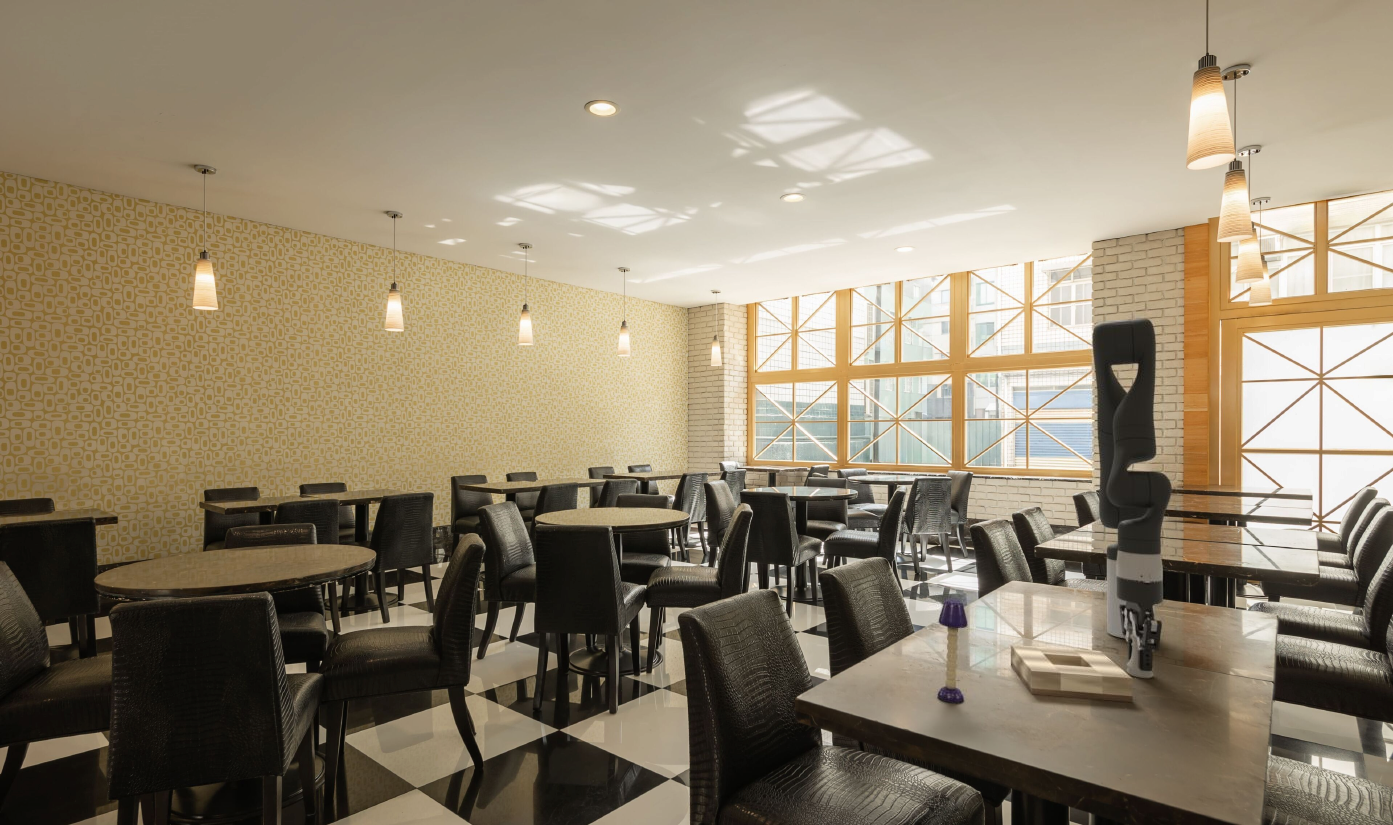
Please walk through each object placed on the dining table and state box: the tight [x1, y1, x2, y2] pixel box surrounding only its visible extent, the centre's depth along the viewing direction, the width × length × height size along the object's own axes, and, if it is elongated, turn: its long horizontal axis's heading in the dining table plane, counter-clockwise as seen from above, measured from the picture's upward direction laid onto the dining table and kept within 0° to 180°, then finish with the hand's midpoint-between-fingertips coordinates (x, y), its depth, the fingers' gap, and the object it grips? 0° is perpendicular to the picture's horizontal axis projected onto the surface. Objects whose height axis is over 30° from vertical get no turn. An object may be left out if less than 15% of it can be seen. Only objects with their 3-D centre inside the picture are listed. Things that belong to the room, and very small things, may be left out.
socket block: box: [1010, 644, 1134, 703], centre depth 130 cm, size 16×16×4 cm
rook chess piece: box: [1126, 631, 1155, 679], centre depth 135 cm, size 4×4×8 cm
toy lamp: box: [937, 598, 968, 704], centre depth 121 cm, size 5×5×17 cm
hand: (1140, 665), depth 135 cm, fingers closed on rook chess piece, 4 cm apart
